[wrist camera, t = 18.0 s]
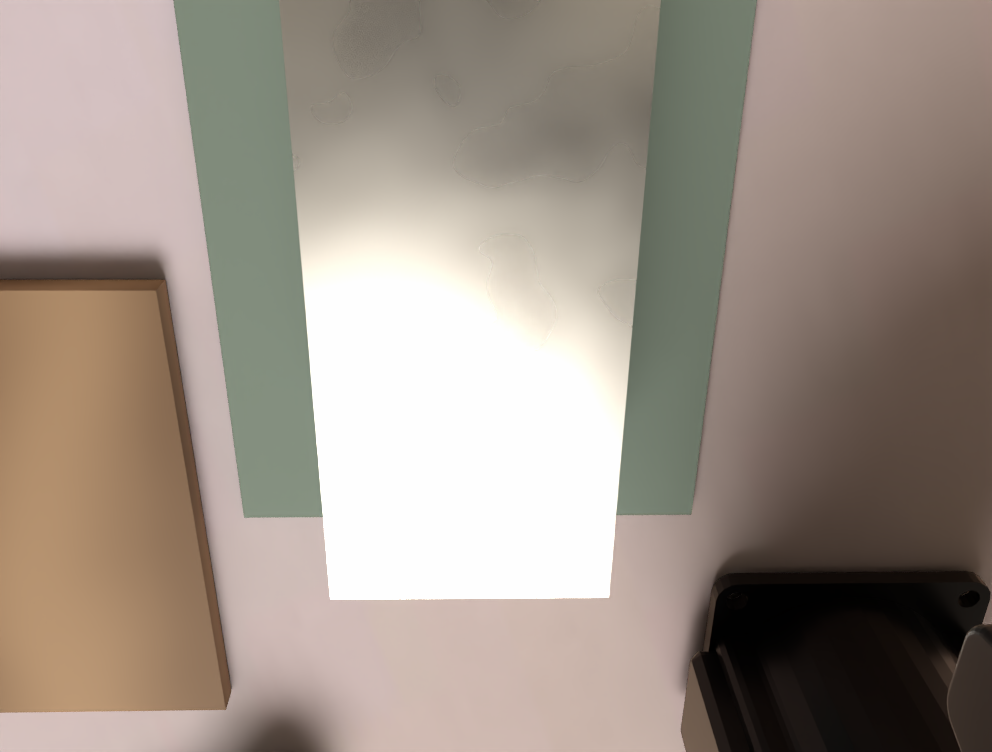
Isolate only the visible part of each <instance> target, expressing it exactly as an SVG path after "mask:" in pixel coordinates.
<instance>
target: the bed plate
mask: <svg viewBox="0 0 992 752" xmlns="http://www.w3.org/2000/svg"><path fill="white" fill-rule="evenodd" d="M230 694H231V685H230V679H229V673H228V667H227V661H226V654H225V648H224V642H223V636H222V629H221V623H220V617H219V611H218V605H217V598H216V592H215V586H214V580H213V573H212V567H211V561H210V555H209V549H208V542H207V536H206V530H205V524H204V517H203V511H202V505H201V499H200V493H199V486H198V480H197V474H196V468H195V461H194V455H193V449H192V443H191V437H190V430H189V424H188V418H187V412H186V405H185V399H184V393H183V387H182V381H181V374H180V368H179V362H178V356H177V349H176V343H175V337H174V331H173V325H172V318H171V312H170V306H169V300H168V293H167V287H166V281H165V280H0V713H4V712H84V711H163V710H226V707H227V704H228V701H229V698H230Z"/></svg>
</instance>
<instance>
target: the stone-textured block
mask: <svg viewBox="0 0 992 752" xmlns="http://www.w3.org/2000/svg"><path fill="white" fill-rule="evenodd" d="M660 5H661V0H279V7H280V18H281V30H282V42H283V53H284V65H285V77H286V88H287V100H288V112H289V123H290V135H291V147H292V158H293V170H294V182H295V193H296V205H297V217H298V228H299V240H300V252H301V263H302V275H303V287H304V298H305V310H306V322H307V333H308V345H309V357H310V368H311V380H312V392H313V403H314V415H315V427H316V438H317V450H318V462H319V473H320V485H321V497H322V508H323V520H324V532H325V543H326V555H327V567H328V579H329V590H330V599H464V598H609V590H610V578H611V567H612V555H613V544H614V533H615V521H616V510H617V498H618V487H619V475H620V464H621V452H622V441H623V429H624V418H625V406H626V395H627V383H628V372H629V360H630V349H631V337H632V326H633V315H634V303H635V292H636V280H637V269H638V257H639V246H640V234H641V223H642V211H643V200H644V188H645V177H646V165H647V154H648V142H649V131H650V119H651V108H652V97H653V85H654V74H655V62H656V51H657V39H658V28H659V16H660Z"/></svg>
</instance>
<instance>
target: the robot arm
mask: <svg viewBox="0 0 992 752" xmlns="http://www.w3.org/2000/svg"><path fill="white" fill-rule="evenodd" d="M966 591H969V592H968V593H967V594H965V595H963V596H960V595H961V594H963V593H964V592H966ZM738 592H739V593H742V594H741V595H740V596H738V597H737V598H732V599H731V598H728V597H729V596H730V595H732V594H734V593H738ZM989 600H990V591H989V589H988V587H987V586H986V584H985V583H984V582H983V581H982V579H981V578H980V577H979V576H978V575H977V574H975V573H973V572H967V571H939V572H823V573H734V574H728V575H725V576H723V577H721V578H720V579H719V580H718V581H717V582H716V583H715V584H714V586H713V588H712V592H711V599H710V606H709V613H708V620H707V626H706V633H705V640H704V647H703V651H699V652H697V653H696V654H695V655H694V657H693V658H692V659H691V660H690V666H689V674H688V681H687V688H686V695H685V702H684V710H683V717H682V724H681V734H682V738H683V742H684V746H685V749H686V752H992V624H986V625H982V622H983V619H984V616H985V613H986V610H987V606H988V603H989Z"/></svg>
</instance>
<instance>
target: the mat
mask: <svg viewBox="0 0 992 752" xmlns="http://www.w3.org/2000/svg"><path fill="white" fill-rule="evenodd" d="M173 1H174V8H175V15H176V23H177V30H178V37H179V45H180V52H181V59H182V66H183V74H184V81H185V88H186V96H187V103H188V110H189V118H190V125H191V132H192V140H193V147H194V154H195V162H196V169H197V176H198V184H199V191H200V198H201V205H202V213H203V220H204V227H205V235H206V242H207V249H208V257H209V264H210V271H211V279H212V286H213V293H214V301H215V308H216V315H217V323H218V330H219V337H220V344H221V352H222V359H223V366H224V374H225V381H226V388H227V396H228V403H229V410H230V418H231V425H232V432H233V440H234V447H235V454H236V462H237V469H238V476H239V483H240V491H241V498H242V505H243V513H244V518H250V517H323V508H322V497H321V485H320V473H319V462H318V450H317V438H316V427H315V415H314V403H313V392H312V380H311V368H310V357H309V345H308V333H307V322H306V310H305V298H304V287H303V275H302V263H301V252H300V240H299V228H298V217H297V205H296V193H295V182H294V170H293V158H292V147H291V135H290V123H289V112H288V100H287V88H286V77H285V65H284V53H283V42H282V30H281V18H280V7H279V0H173ZM756 2H757V0H661V5H660V16H659V28H658V39H657V51H656V62H655V74H654V85H653V97H652V108H651V119H650V131H649V142H648V154H647V165H646V177H645V188H644V200H643V211H642V223H641V234H640V246H639V257H638V269H637V280H636V292H635V303H634V315H633V326H632V337H631V349H630V360H629V372H628V383H627V395H626V406H625V418H624V429H623V441H622V452H621V464H620V475H619V487H618V498H617V510H616V515H691V513H692V505H693V497H694V489H695V481H696V474H697V466H698V458H699V450H700V442H701V434H702V426H703V419H704V411H705V403H706V395H707V387H708V379H709V371H710V364H711V356H712V348H713V340H714V332H715V324H716V316H717V309H718V301H719V293H720V285H721V277H722V269H723V261H724V254H725V246H726V238H727V230H728V222H729V214H730V206H731V199H732V191H733V183H734V175H735V167H736V159H737V151H738V144H739V136H740V128H741V120H742V112H743V104H744V96H745V89H746V81H747V73H748V65H749V57H750V49H751V41H752V34H753V26H754V18H755V10H756Z"/></svg>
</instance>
